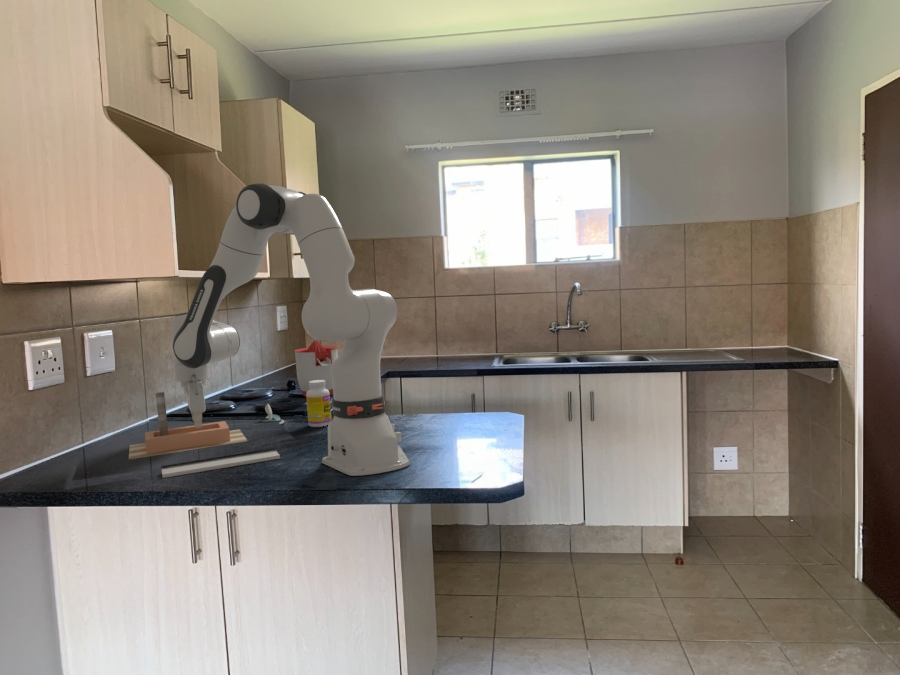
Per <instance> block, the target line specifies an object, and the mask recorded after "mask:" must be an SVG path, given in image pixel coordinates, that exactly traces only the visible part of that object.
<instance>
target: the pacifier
mask: <svg viewBox="0 0 900 675" xmlns="http://www.w3.org/2000/svg"><path fill="white" fill-rule="evenodd" d="M264 410H265V412H266V414H267V416H266V417H265V419H264V420H262V421H261V422H263V423H269V422H270V423H271V422H277V423H278V424H279V425H283V424H284V423H285V420H284V419H281V417H280V415H278V414H275V413H274V414H273V411H272V408H271V406H270V403H267V404H266V405H265V407H264Z"/></svg>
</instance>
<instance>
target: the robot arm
mask: <svg viewBox="0 0 900 675" xmlns="http://www.w3.org/2000/svg"><path fill="white" fill-rule="evenodd" d="M274 234H283V235H294V237H295V240H296V243H297V245H298V248H299V250H300V253H301V256H302V257H303V258H302V259H303V261H304V264H305V267H306V270H307V273H308V277H309V285H310V288H309V289H310V290H309V295H308V298H307V300H306V302H305V303H304V305H303V307H302V310H301V323H302V326H303V329H304V331H305V332H306V334H307V335H308V336H310V337H311V338H312V339H314V340H316V341H318V340H319V341H325V342H337V341H343V340H344V343H343V348H342V350H341V352H340V354H339V355H338V358H337V359H336V360H335V361H334V363H333V365H332V383H333V395H332V396H333V398H332V400H331V410H332V415H333V418H332V419H331V421H332V422H331V423H330V424H329V425H328V426H327V452H328V454H327V456H324V457H322V459H321V460H322V461H321V463H322V464H324V465H325V466H328V467H329V468H332V469H334V470H337V471H339V472H341V473H343V474H346V475H348V476H351V477H352V476H353V477H355V476H356V477H357V476H368V475H376V474H381V473H388V472H392V471H396V470H400V469H404V468H406V467H408V466H410V460H409V458H408V457H407V456H406V453H405V452H404V450H403V449H402V447H401V446H400V445H398V443H401V442H402V441H403V440H402V438H403V436H402V432H401V431H395V430H396V426H395V423H391V421H390V419H389V418H390V417H389V416H388V415H387V413H386V412H387V408H386V402H385V398H384V395H383V394H382V385H381V384H382V383H381V381H382V380H381V358H382V353H383V348H384V344H385V340H386V338H387V335H388V333H389V331H390V330H391V328H392V327H393V326H394V324H395V323H396V321H397V317H398V306H397V302H396V301H395V298H394V297H393V296H392V295H391V294H390V293H389V292H387V291H383V290H379V289H374V288H363V289H352V288H351V285H350V280H349V273H351V271H352V269H353V268H354V266H355V262H356V258H355V255H354V253H353V250H352V249H351V245H350V244H349V240H348V237H347V236H346V233H345V231H344V229H343V226H342V223H341V222H340V220H339V218H338V215H337V214H336V212H335V210H334V209H333V207H332V205H331V204H330V203H329V201H328V200H327V198H326V197H324V196H323V195H321V194H319V193H305V192H303V191H296V190H294V189H292V188H287V187H284V186H280V185H273V184H265V183H250V184H248V185H245V186H244V187H243V188H242V189H240V191H239V193H238V194H237V198H236V204H235V206H234V207H233V208H232V210H231V212H230V214H229V216H228V218H227V220H226V223H225V225H224V228H223V231H222V234H221V238H220V241H219V245H218V248H217V250H216V253H215V255H214V257H213V259H212V262H211V264H210V265H209V266H208V268H207V269H206V270H205V271H204V273H203V275H202V276H201V279H200V281H199V284H198V286H197V288H196V291H195V293H194V296H193V299H192V301H191V304H190V307H189V308H188V309H189V310H188V311H187V312H183V313H179V314H176V315H175V316H174V317H173V318H172V321H171V326H170V327H171V328H170V329H171V330H170V332H171V333H170V334H171V335H170V336H171V346H172V347H171V348H172V350H173V355H174V359H173V369H174V379H175V380H174V381H176V382H179V383H180V387H182V388H183V391H184V396H185V399H186V403H187V406H188V408H189V411H190V413H191V418H192V421H193V423H194V425H195V428H201V427H202V424H203V413H205V412H206V399H205V390H204V389H205V388H204V386H205V385H207V379H210V378H211V367H210V364H212V363H217V362H220V361H224V360H228V359H230V358H232V357H234V356H235V355H237V354H238V352H239V349H240V347H241V345H240V344H241V338H240V335H239V333H238V331H237V329H236V328H235V327H234V326H233V325H231V324H229V323H223V322H220V321H217V320H214V319H215V317H216V315H217V313H218V310H219V307H220V304H221V302H222V300H223V299H225V297H226V296H227V295H229V293H231V292H232V291H233V290H235V289H237V288H240V286H242V285H245V284H247V283H249V282H250V281H252V280H253V279H254V278H255V277H256V276H257V275H258V273H259V271H260V269H261V267H262V264H263V262H264V257H265V254H266V249H267V246H268V242H269V240H270V237H271V236H272V235H274Z"/></svg>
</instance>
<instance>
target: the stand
mask: <svg viewBox="0 0 900 675" xmlns="http://www.w3.org/2000/svg"><path fill="white" fill-rule="evenodd" d="M165 396H166V395H165V392H162V391H160V392H156V393H155V400H156V401H155V403H156V410H157V420H158V430H160V436H165V435H168V429H169V426H168V418H167V408H166V400H165V398H166V397H165ZM229 432H230V441H228V442H221V443H215V444H208V445H202V446H195V447H188V448H182V449H175V450H168V451H162V452H155V453H149V454H147V453H146V444H145V442H144V443H143V442H142V443H136V444H130V445H129V449H128V460H134V459H140V458H141V459H142V458H146V457H147V458H148V457H154V456H159V455H161V456H162V455H167V454H173V453H180V452H185V451H194V450H199V449H206V448H211V447H212V448H213V447H218V446H220V447H221V446H225V445H227V446H228V445H232V444H238V443H240V444H241V443H245V442H246V443H247V442H248V439H247V437H245V435H244V434H243V432H242V430H241V429H233V430H229Z"/></svg>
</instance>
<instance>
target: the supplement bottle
mask: <svg viewBox="0 0 900 675" xmlns="http://www.w3.org/2000/svg"><path fill="white" fill-rule="evenodd" d="M309 387H310V390H309V391H307V393H306V397H305V398H306V410H307V421H308V426H309V427H310V428H323V426H324V427H328V426H327V425H329V424H330V423H331V422H332V405H331V395H330V393H329V390H327V389H325V380H313V381H309Z"/></svg>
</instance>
